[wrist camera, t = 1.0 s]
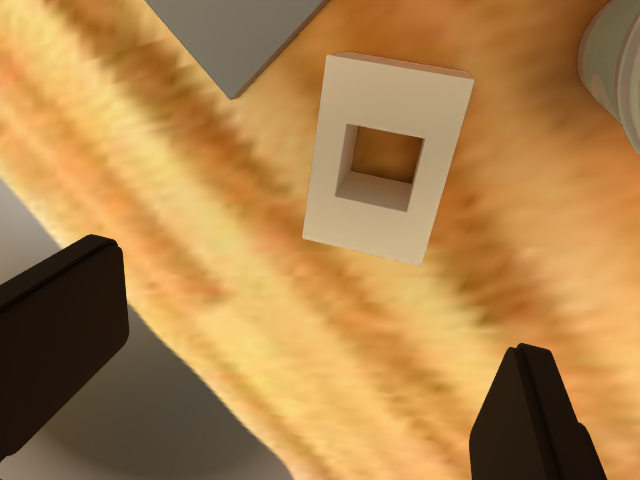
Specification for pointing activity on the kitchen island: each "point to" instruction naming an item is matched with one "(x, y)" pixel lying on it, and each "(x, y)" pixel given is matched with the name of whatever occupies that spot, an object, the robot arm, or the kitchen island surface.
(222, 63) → the pin plate
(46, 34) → the kitchen island surface
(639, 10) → the coffee cup
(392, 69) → the flange block
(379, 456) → the kitchen island surface
